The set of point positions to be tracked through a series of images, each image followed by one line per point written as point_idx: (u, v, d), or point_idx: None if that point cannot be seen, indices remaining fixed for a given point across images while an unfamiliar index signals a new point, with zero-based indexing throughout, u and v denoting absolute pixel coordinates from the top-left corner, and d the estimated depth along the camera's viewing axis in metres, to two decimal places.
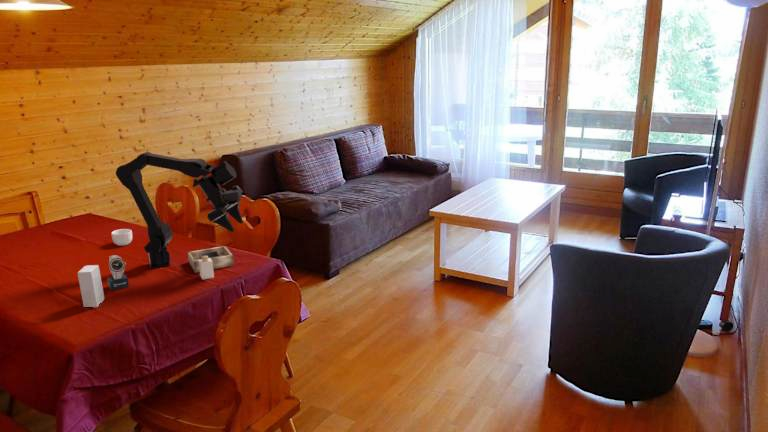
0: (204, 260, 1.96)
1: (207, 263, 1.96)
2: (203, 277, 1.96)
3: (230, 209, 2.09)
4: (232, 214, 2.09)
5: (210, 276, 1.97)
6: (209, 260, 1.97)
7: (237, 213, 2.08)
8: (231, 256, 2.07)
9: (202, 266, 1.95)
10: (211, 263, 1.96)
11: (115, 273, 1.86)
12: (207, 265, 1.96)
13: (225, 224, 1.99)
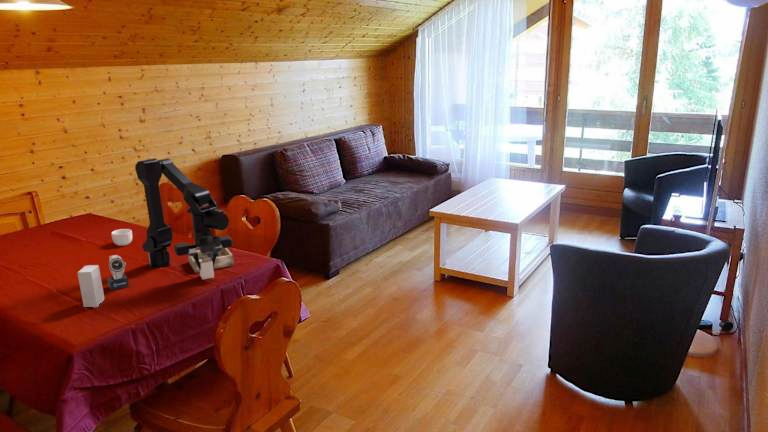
0: (204, 260, 1.96)
1: (207, 263, 1.96)
2: (203, 277, 1.96)
3: None
4: (211, 254, 1.99)
5: (210, 276, 1.97)
6: (209, 260, 1.97)
7: (212, 257, 1.97)
8: (231, 256, 2.07)
9: (202, 266, 1.95)
10: (211, 263, 1.96)
11: (115, 273, 1.86)
12: (207, 265, 1.96)
13: (195, 260, 1.96)
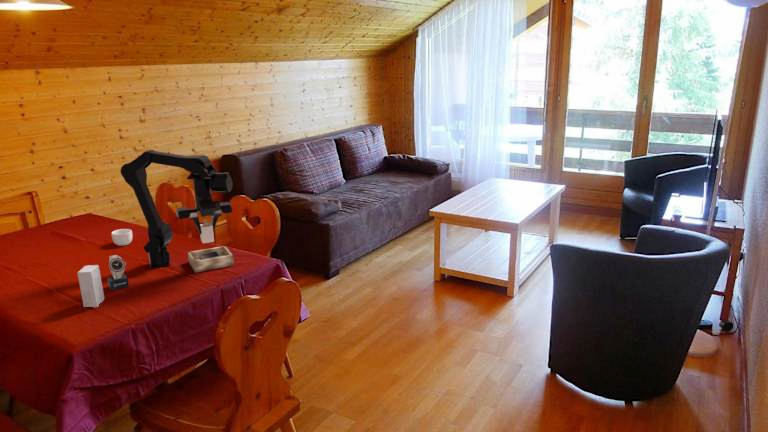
0: (205, 224, 2.03)
1: (207, 227, 2.02)
2: (203, 241, 2.03)
3: None
4: (211, 219, 2.06)
5: (210, 240, 2.04)
6: (209, 225, 2.04)
7: (212, 222, 2.04)
8: (231, 256, 2.07)
9: (202, 230, 2.02)
10: (211, 227, 2.03)
11: (115, 273, 1.86)
12: (208, 229, 2.03)
13: (196, 224, 2.03)
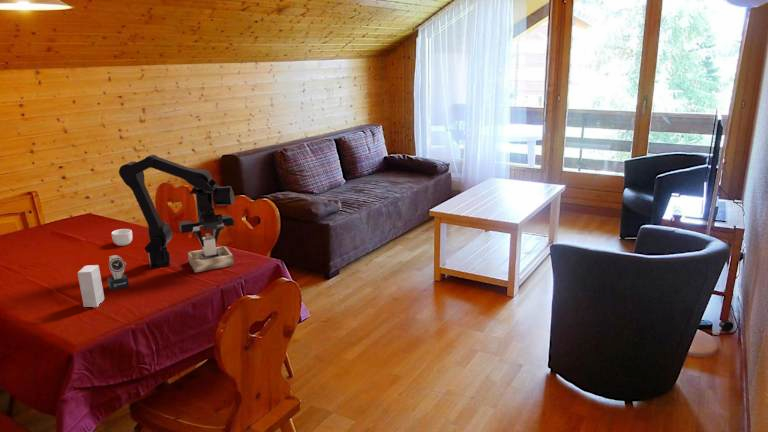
0: (207, 237, 2.07)
1: (210, 240, 2.06)
2: (206, 254, 2.07)
3: None
4: (213, 232, 2.09)
5: (213, 253, 2.08)
6: (212, 238, 2.08)
7: (214, 235, 2.08)
8: (231, 256, 2.07)
9: (205, 243, 2.06)
10: (214, 240, 2.07)
11: (115, 273, 1.86)
12: (210, 242, 2.06)
13: (198, 237, 2.06)
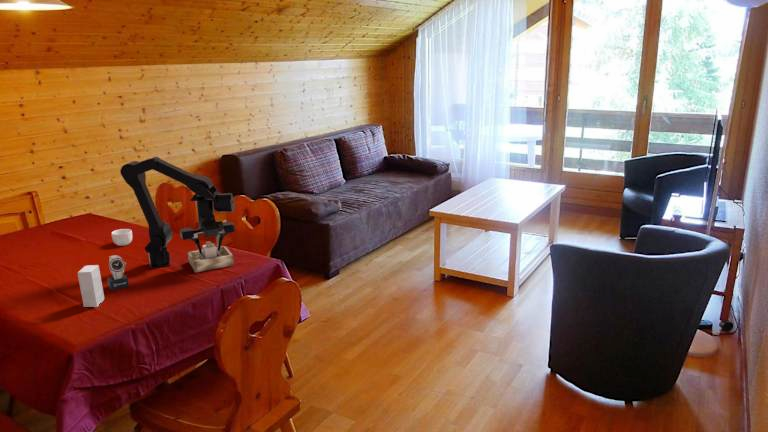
0: (208, 245, 2.08)
1: (211, 248, 2.07)
2: None
3: (217, 233, 2.10)
4: (217, 238, 2.11)
5: None
6: (213, 245, 2.09)
7: (218, 241, 2.09)
8: (231, 256, 2.07)
9: (206, 251, 2.07)
10: (214, 248, 2.08)
11: (115, 273, 1.86)
12: (211, 250, 2.07)
13: (196, 244, 2.07)
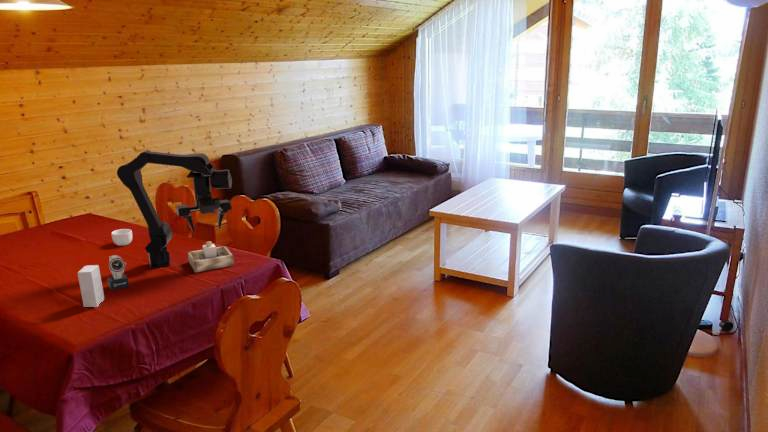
0: (208, 245, 2.08)
1: (211, 248, 2.07)
2: None
3: (218, 211, 2.09)
4: (217, 215, 2.10)
5: None
6: (213, 245, 2.09)
7: (219, 218, 2.08)
8: (231, 256, 2.07)
9: (206, 251, 2.07)
10: (214, 248, 2.08)
11: (115, 273, 1.86)
12: (211, 250, 2.07)
13: (189, 222, 2.04)
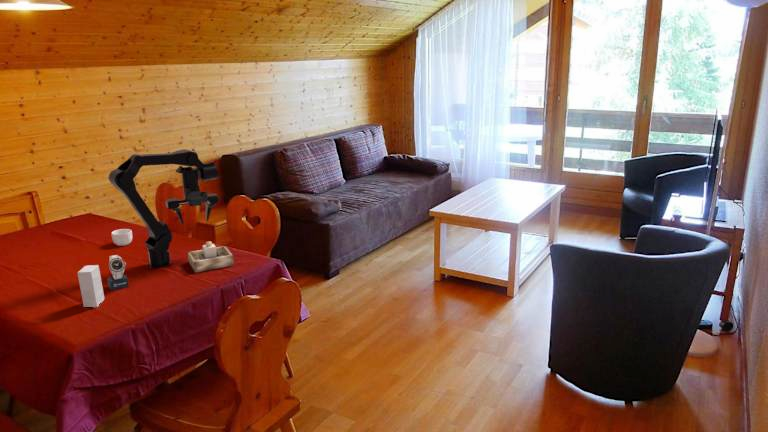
0: (208, 245, 2.08)
1: (211, 248, 2.07)
2: None
3: (206, 204, 2.18)
4: (206, 208, 2.19)
5: None
6: (213, 245, 2.09)
7: (207, 211, 2.17)
8: (231, 256, 2.07)
9: (206, 251, 2.07)
10: (214, 248, 2.08)
11: (115, 273, 1.86)
12: (211, 250, 2.07)
13: (178, 215, 2.14)
